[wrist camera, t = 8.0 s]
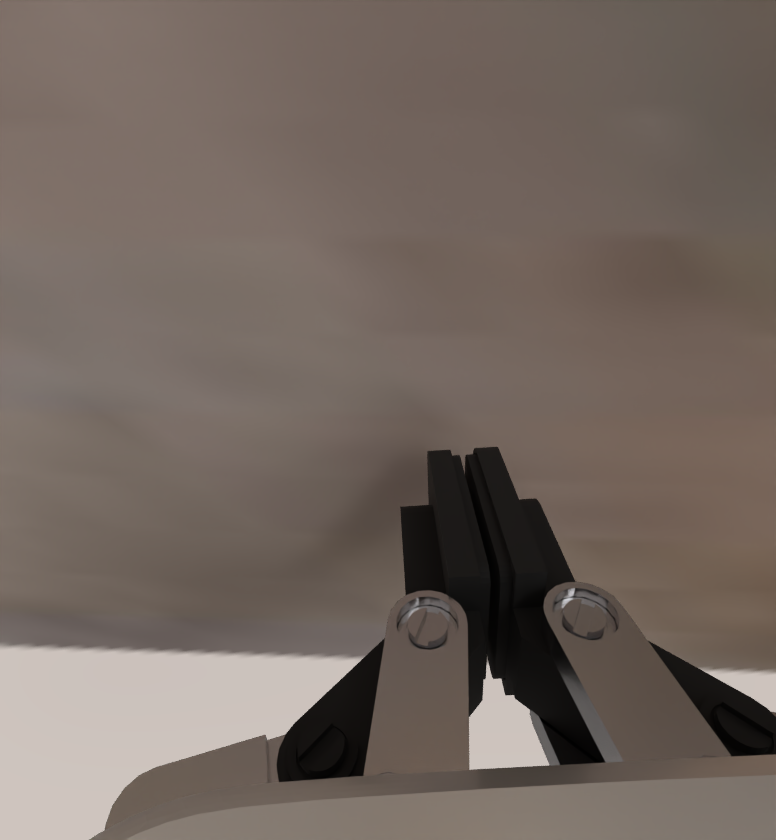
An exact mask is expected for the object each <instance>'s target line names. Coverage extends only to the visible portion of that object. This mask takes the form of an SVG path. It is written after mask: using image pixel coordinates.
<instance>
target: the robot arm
mask: <svg viewBox="0 0 776 840" xmlns="http://www.w3.org/2000/svg"><path fill="white" fill-rule="evenodd" d="M427 459H428V494H429V505H422V506H406V507H401V524H402V540H403V556H404V572H405V589H406V596H404V597H403V598H401V599H400V600H399V601H398V602H397V603H396V604H395V605H394V607H393V608H392V609H391V612H390V615H389V617H388V622H387V628H386V635H385V639H384V640H382V641H381V642H380V643H379V644H378V645H377V646H376V647H375V648H374V649H373V650H372V651H371V652H370V653H369V654H368V655H367V656H365V657H364V658H363V659H362V660H361V661H360V662H359V663H358V664H357V665H356V666H355V667H354V668H353V669H352V670H351V671H350V672H349V673H347V674H346V675H345V676H344V677H343V678H342V679H341V680H340V681H339V682H338V683H337V684H336V685H335V686H334V687H333V688H332V689H331V690H329V691H328V692H327V693H326V694H325V695H324V696H323V697H322V698H321V699H320V700H319V701H318V702H317V703H316V704H315V705H313V707H311V708H310V709H309V710H308V711H307V712H306V713H305V714H304V715H303V716H302V717H301V718H300V719H299V720H298V721H297V722H295V724H294V725H293V726H292V727H291V728H290V730H289V731H288V732H287V734H286V735H283V736H280V737H276V738H273V739H270V740H267V738H266V735H263V736H259V737H256V738H252V739H249V740H246V741H243V742H239V743H236V744H232V745H230V746H226V747H222V748H219V749H216V750H212V751H209V752H206V753H203V754H199V755H196V756H192V757H189V758H186V759H182V760H179V761H176V762H172V763H169V764H166V765H162V766H159V767H156V768H153V769H151V770H149V771H147V772H145V773H143V774H141V775H139V776H138V777H137V778H136V779H134V780H133V781H132V782H131V783H130V784H129V785H128V786H127V787H125V789H124V790H123V791H122V793H121V794H120V796H119V797H118V798H117V800H116V801H115V803H114V804H113V806H112V809H111V811H110V814H109V817H108V820H107V822H106V826H105V830H104V831H103V832H101V833H99V834H97V835H96V836H94V837H93V838H91V839H90V840H776V713H775V712H770V711H769V710H768V709H767V708H766V707H764V706H763V705H761V704H760V703H758V702H757V701H755V700H754V699H752V698H751V697H749V696H747V695H745V694H743V693H741V692H740V691H738V690H736V689H734V688H732V687H730V686H729V685H727V684H725V683H723V682H721V681H720V680H718V679H716V678H714V677H713V676H711V675H709V674H707V673H705V672H704V671H702V670H700V669H698V668H696V667H695V666H693V665H691V664H689V663H687V662H685V661H684V660H682V659H680V658H678V657H676V656H675V655H673V654H671V653H669V652H667V651H666V650H664V649H662V648H660V647H658V646H657V645H655V644H653V643H651V642H649V641H648V640H647V639H646V638H645V636H644V635H643V633H642V632H641V631H640V629H639V628H638V627H637V625H636V624H635V622H634V621H633V620H632V618H631V617H630V616H629V614H628V613H627V611H626V610H625V609H624V607H623V606H622V605H621V604H620V603H619V602H618V600H617V599H616V598H615V597H614V596H612V595H611V594H609V593H608V592H606V591H605V590H603V589H601V588H599V587H596V586H594V585H591V584H587V583H581V582H575V580H574V578H573V576H572V573H571V571H570V569H569V567H568V565H567V562H566V560H565V558H564V556H563V553H562V551H561V549H560V547H559V545H558V542H557V540H556V538H555V536H554V534H553V531H552V529H551V527H550V525H549V523H548V520H547V518H546V516H545V514H544V512H543V509H542V507H541V505H540V503H539V502H538V500H537V499H522V500H519V499H518V496H517V493H516V491H515V488H514V486H513V483H512V481H511V478H510V476H509V473H508V471H507V468H506V466H505V463H504V461H503V458H502V456H501V453H500V451H499V449H498V447H487V448H474V451H473V454H470V455H466V457H465V474H464V470H463V466H462V462H461V458H460V456H459V455H454V456H452V454H451V451H450V450H439V451H428V454H427ZM487 656H488V661H489V666H490V670H491V674H492V677H493V679H498V678H502V683H503V687H504V691H505V695H514V696H515V699H517V700H518V701H519V702H521V703H522V704H523V705H525V706H526V707H527V708H529V709H530V716H531V720H532V724H533V726H534V729H535V731H536V733H537V736H538V738H539V740H540V743H541V745H542V748H543V750H544V752H545V755H546V757H547V760H548V762H549V764H550V766H533V767H515V768H496V769H477V770H469V716H470V715H471V714H472V713H473V711H474V710H475V709H476V707H477V706H478V705H479V704H480V702H481V701H482V695H483V679H485V678H486V662H487Z"/></svg>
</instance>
